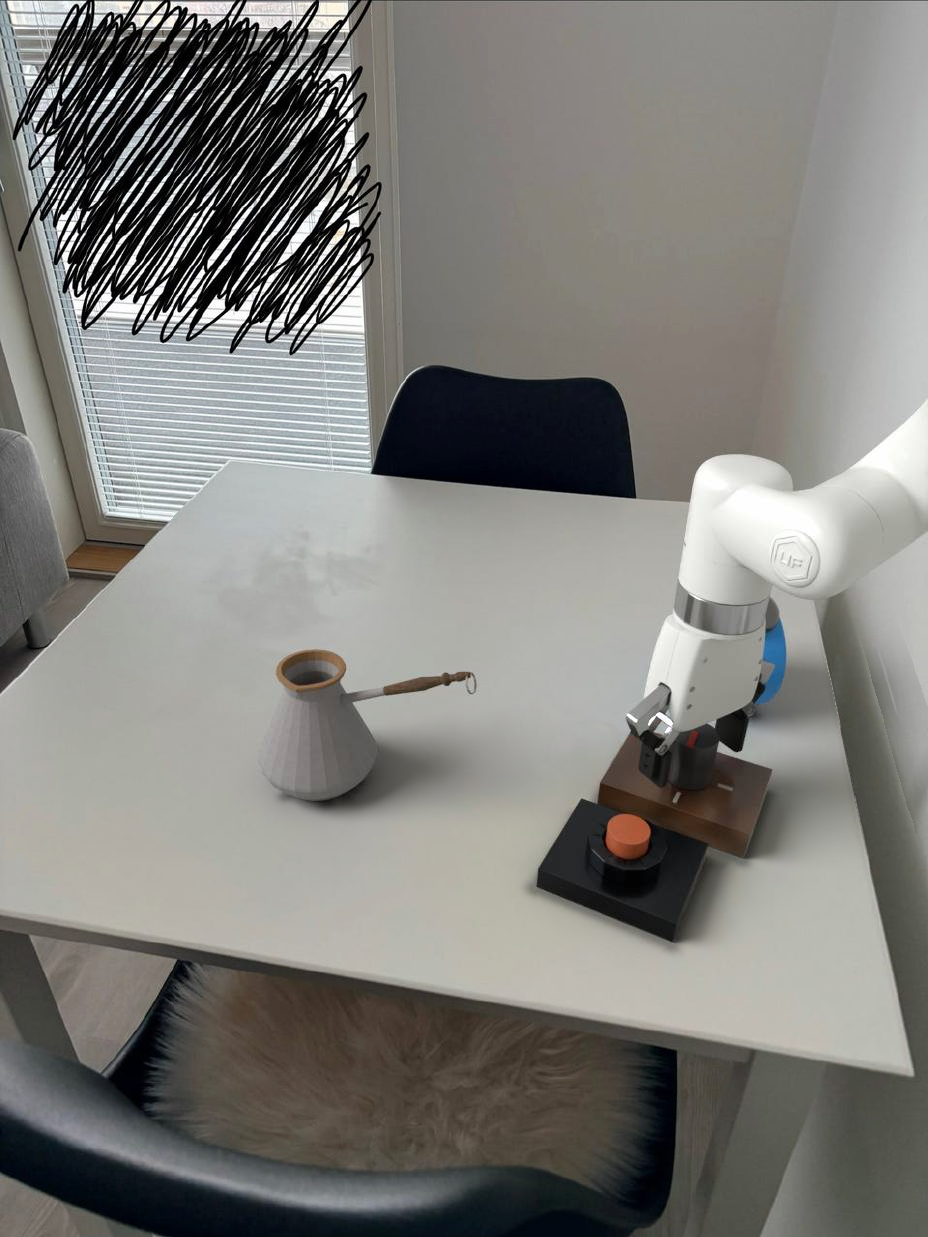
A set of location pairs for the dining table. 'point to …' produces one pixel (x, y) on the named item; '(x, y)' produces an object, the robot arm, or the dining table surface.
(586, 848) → the black button base
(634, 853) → the push knob
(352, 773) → the coffee pot
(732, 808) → the dial panel
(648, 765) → the robot arm
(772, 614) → the alarm clock
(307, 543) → the dining table surface
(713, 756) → the dial
